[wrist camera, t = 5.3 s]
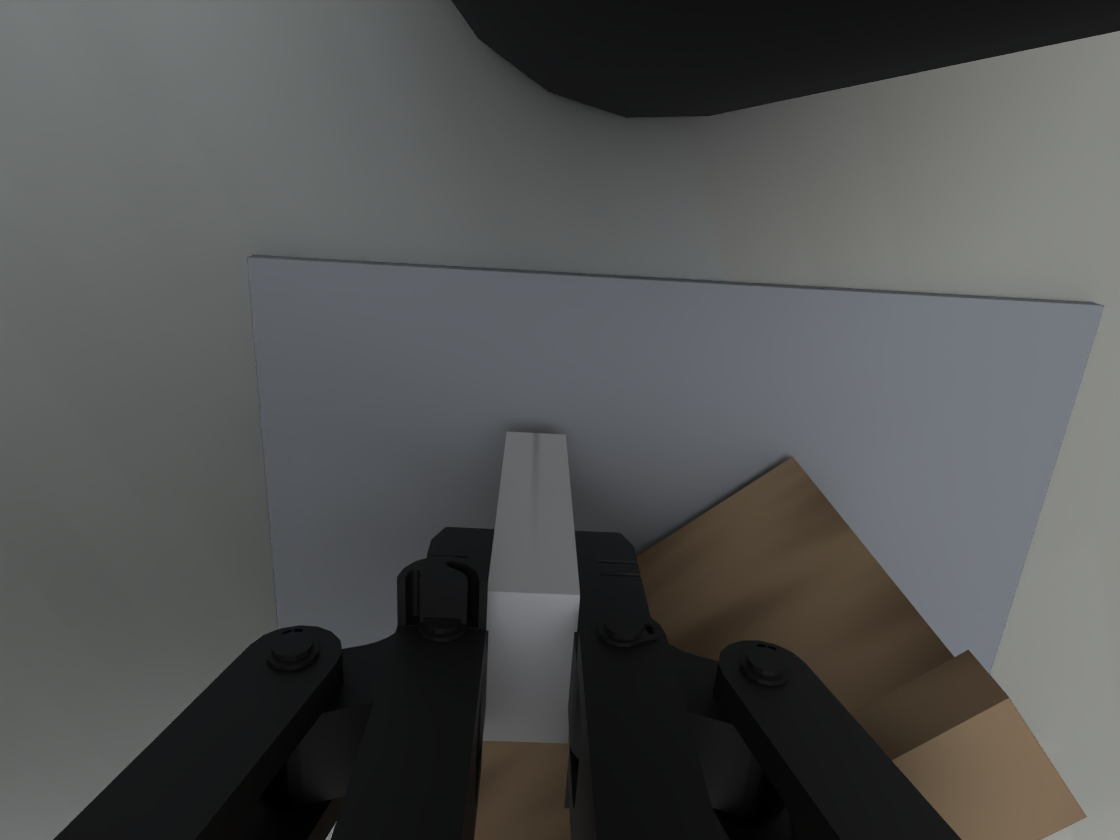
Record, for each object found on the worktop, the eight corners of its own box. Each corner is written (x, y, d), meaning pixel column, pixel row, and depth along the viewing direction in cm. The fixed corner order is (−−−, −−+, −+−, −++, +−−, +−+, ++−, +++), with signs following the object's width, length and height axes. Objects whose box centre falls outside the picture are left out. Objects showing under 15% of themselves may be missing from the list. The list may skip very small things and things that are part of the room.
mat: (298, 811, 23) (294, 822, 23) (253, 255, 17) (246, 257, 17) (931, 830, 24) (937, 841, 23) (1093, 302, 18) (1104, 305, 18)
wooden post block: (515, 720, 21) (494, 1107, 12) (456, 659, 20) (392, 1027, 12) (845, 519, 19) (1086, 817, 10) (793, 442, 18) (1009, 697, 10)
